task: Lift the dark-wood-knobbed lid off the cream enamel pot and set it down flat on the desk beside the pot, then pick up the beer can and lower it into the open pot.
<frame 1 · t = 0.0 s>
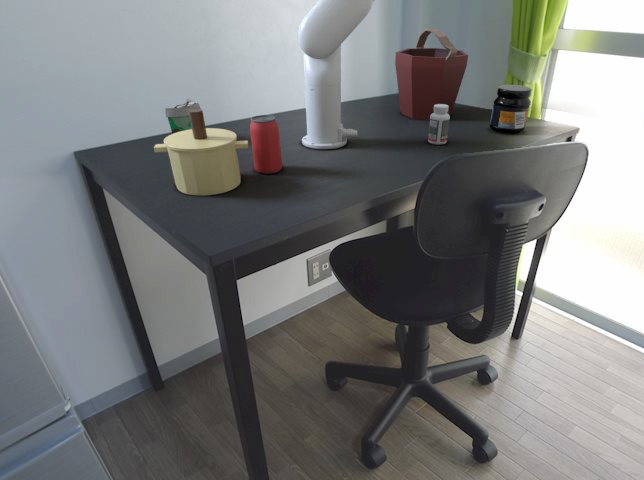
pill bottle: (437, 142, 127), on the table
beer can: (268, 170, 108), on the table
bucket: (424, 114, 153), on the table
food container: (194, 142, 126), on the table
supplement container: (506, 130, 137), on the table
pot: (209, 183, 101), on the table
lid: (201, 140, 95), point 9 cm above the table, touching pot
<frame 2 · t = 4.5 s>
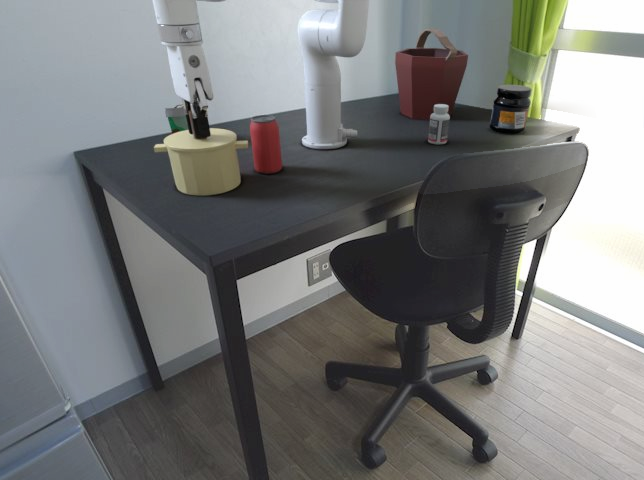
hand: (199, 134, 95), 11 cm above the table, tool pointing down, fingers closed on lid, 2 cm apart
lid: (201, 140, 95), point 10 cm above the table, touching gripper, pot
everything else where it was.
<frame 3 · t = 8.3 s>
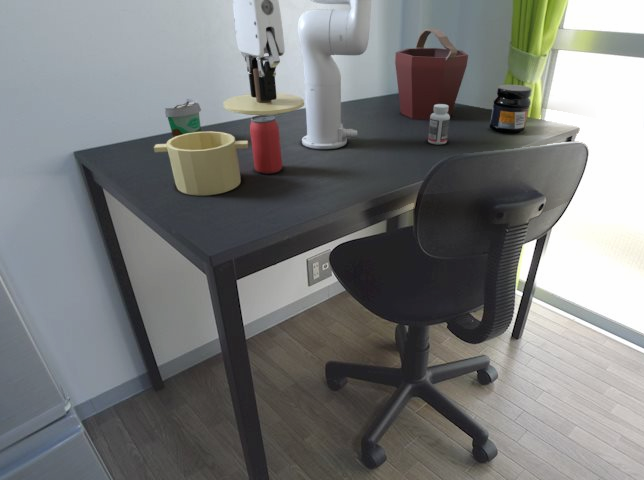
hand: (263, 97, 84), 20 cm above the table, tool pointing down, fingers closed on lid, 2 cm apart
lid: (264, 104, 84), point 18 cm above the table, touching gripper
everything else where it was.
when the fingers open (2 cm above the table, at t = 12.3 s): lid stays where it is, point 1 cm above the table.
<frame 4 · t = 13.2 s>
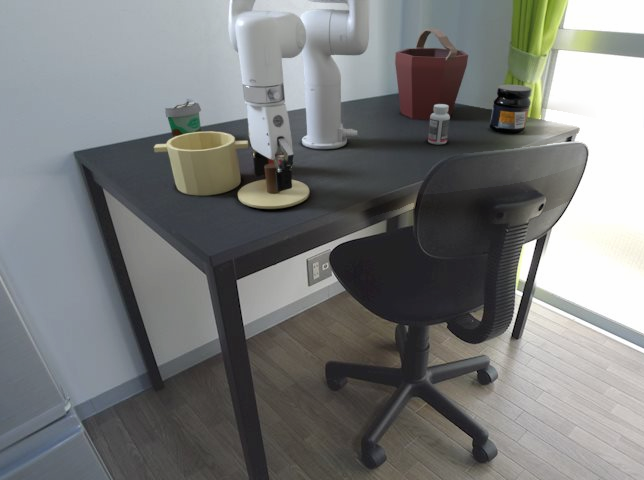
hand: (273, 182, 93), 3 cm above the table, tool pointing down, fingers open, 9 cm apart
lid: (274, 194, 95), point 1 cm above the table
everything else where it was.
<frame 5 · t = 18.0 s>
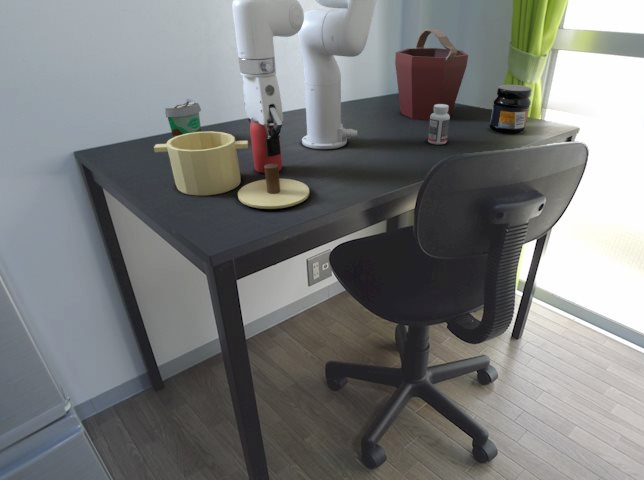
hand: (266, 150, 105), 5 cm above the table, tool pointing down, fingers closed on beer can, 6 cm apart
beer can: (268, 170, 108), on the table, touching gripper
everything else where it was.
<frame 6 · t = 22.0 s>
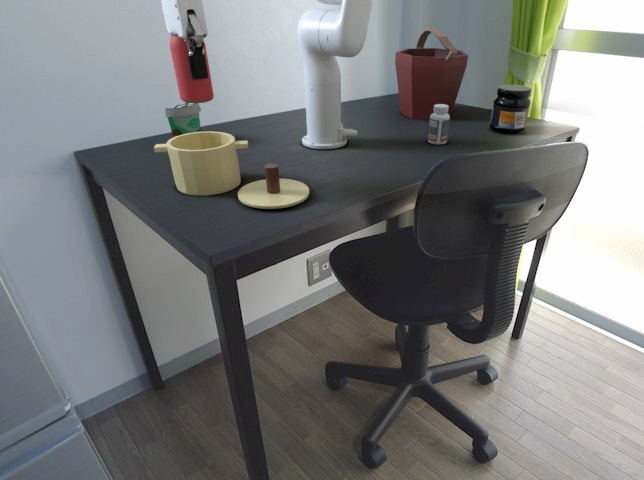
hand: (193, 75, 88), 22 cm above the table, tool pointing down, fingers closed on beer can, 6 cm apart
beer can: (198, 101, 91), point 17 cm above the table, touching gripper
everything else where it was.
when the fingers open (6 cm above the table, at t = 26.2 s): beer can drops 1 cm, resting on pot.
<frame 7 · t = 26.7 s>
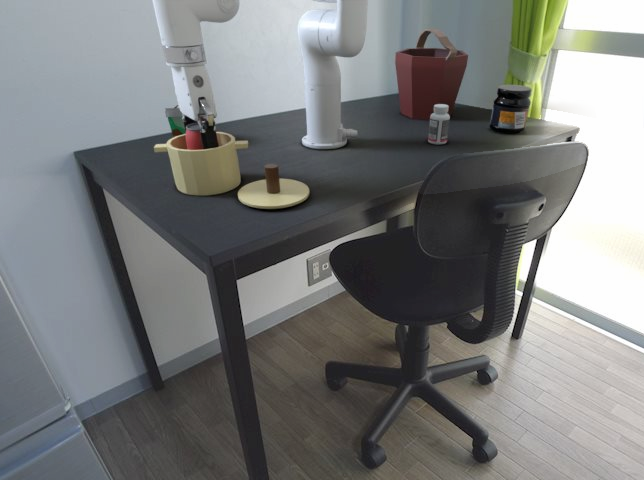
hand: (202, 145, 96), 9 cm above the table, tool pointing down, fingers open, 9 cm apart
beer can: (209, 181, 101), resting on pot
everything else where it was.
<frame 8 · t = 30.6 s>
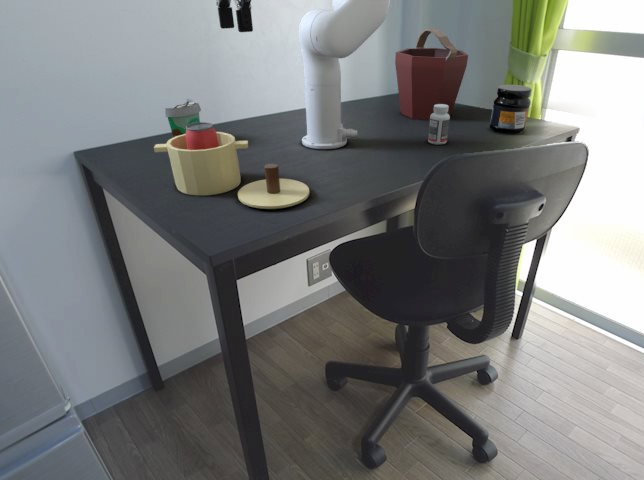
hand: (236, 29, 100), 28 cm above the table, tool pointing down, fingers open, 9 cm apart
nothing on the table moved.
at the end: lid inside the target area on the table beside the pot (0.1 cm from its centre), point 0.6 cm above the table; lid tilted 0°; beer can inside the target area in the pot (0.3 cm from its centre), point 0.3 cm above the pot's base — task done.
